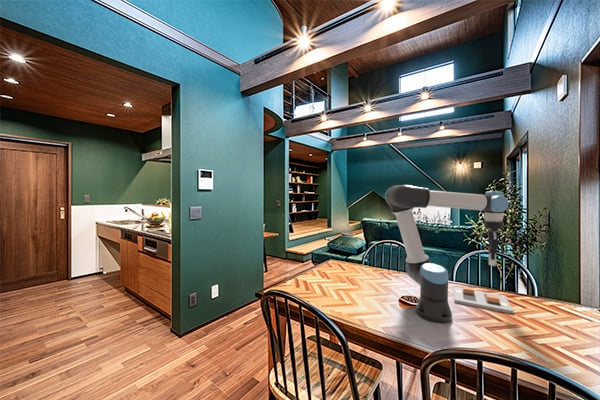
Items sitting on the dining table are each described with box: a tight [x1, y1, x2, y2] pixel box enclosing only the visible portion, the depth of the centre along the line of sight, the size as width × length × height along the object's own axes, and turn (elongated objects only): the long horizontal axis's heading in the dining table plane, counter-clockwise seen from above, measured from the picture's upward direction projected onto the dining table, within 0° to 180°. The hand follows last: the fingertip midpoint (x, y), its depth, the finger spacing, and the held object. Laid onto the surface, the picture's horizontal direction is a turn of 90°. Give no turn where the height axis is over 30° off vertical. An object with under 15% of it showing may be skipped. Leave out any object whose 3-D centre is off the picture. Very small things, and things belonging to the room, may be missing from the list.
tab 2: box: [486, 295, 500, 303], centre depth 125 cm, size 3×5×2 cm, turn 59°
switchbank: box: [453, 286, 515, 315], centre depth 131 cm, size 20×24×2 cm
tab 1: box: [462, 286, 475, 295], centre depth 136 cm, size 3×5×2 cm, turn 58°
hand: (492, 265), depth 127 cm, fingers closed
